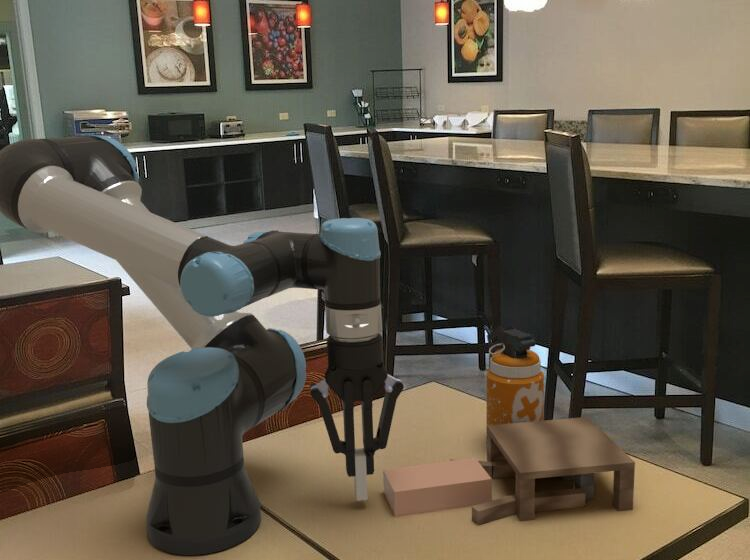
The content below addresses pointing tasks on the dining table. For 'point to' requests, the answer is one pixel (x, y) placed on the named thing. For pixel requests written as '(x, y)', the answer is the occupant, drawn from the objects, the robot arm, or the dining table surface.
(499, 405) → the canister
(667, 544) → the dining table surface
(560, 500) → the shelf
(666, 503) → the dining table surface
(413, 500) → the pink foam brick
